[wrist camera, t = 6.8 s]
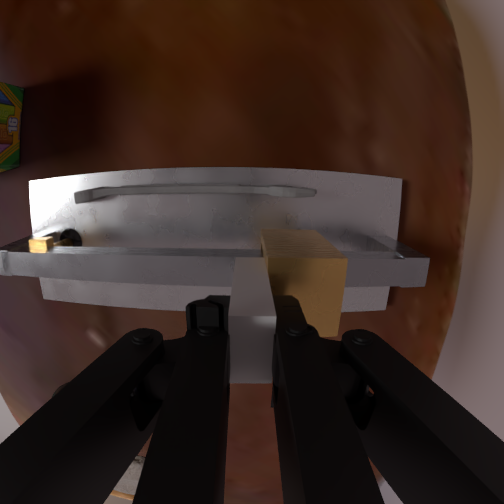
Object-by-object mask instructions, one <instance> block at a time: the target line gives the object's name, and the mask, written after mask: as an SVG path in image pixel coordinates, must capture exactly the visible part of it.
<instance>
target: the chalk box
mask: <svg viewBox="0 0 504 504" xmlns="http://www.w3.org/2000/svg"><path fill="white" fill-rule="evenodd" d="M23 94H24V88H21V87H18V86H14V85H10V84H7V83H3V82H0V172H3V171H6V170H10V169H13V168H16V167H18V166H19V149H20V148H19V146H20V144H19V143H20V125H21V112H22V102H23Z"/></svg>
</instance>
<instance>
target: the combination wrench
mask: <svg viewBox="0 0 504 504" xmlns="http://www.w3.org/2000/svg"><path fill="white" fill-rule="evenodd" d="M240 193H255V194H268V195H271V196H277V197H292V198H301V197H314V196H315V194H317V190H316V189H313V188H306V187H301V188H297V187H292V186H285V185H269V186H251V185H241V184H152V185H127V186H121V187H109V188H104V187H98V188H92V189H87V190H83V191H78V192H75V193H74V200H75V203H76V204H80V203H85V202H90V201H95V200H99V199H104V198H105V197H106V196H109V195H118V194H121V195H149V194H240Z"/></svg>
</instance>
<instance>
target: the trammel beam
mask: <svg viewBox="0 0 504 504" xmlns="http://www.w3.org/2000/svg"><path fill="white" fill-rule="evenodd" d="M152 184H241V185H251V186H269V185H285V186H292V187H297V188H301V187H306V188H313V189H316V190H317V194H315V196H314V197H301V198H292V197H277V196H271V195H268V194H255V193H240V194H149V195H121V194H118V195H109V196H106V197H105V198H104V199H99V200H95V201H90V202H85V203H80V204H76V203H75V200H74V193H75V192H78V191H83V190H87V189H92V188H98V187H104V188H109V187H121V186H127V185H152ZM29 191H30V209H31V221H32V231H33V235H30V236H28V237H25V238H23V239H20V240H17V241H15V242H12V243H10V244H7V245H5V246H3V247H0V275H8V276H13V275H20V276H31V277H39V278H40V283H41V288H42V293H43V298H44V299H49V300H57V301H66V302H75V303H84V304H94V305H105V306H116V307H128V308H142V309H157V310H175V311H186V308H185V307H186V305H187V304H188V303H190V302H192V301H195V300H199V299H205V298H206V297H207V296H209V295H231V289H232V281H233V273H234V266H235V258H236V257H260V258H263V249H260V244H261V229H298V230H316V231H317V232H318V233H319V234H321V235H322V236H323V237H324V238H325V239H326V240H328V241H329V242H330V243H331V244H332V245H333V246H334V247H335V248H337V249H338V250H339V251H340V252H341V253H342V254H343V255H344V256H346V257H347V258H348V263H347V271H346V280H345V287H344V295H343V302H342V308H341V312H353V311H375V310H385V309H386V304H387V299H388V294H389V289H390V286H400V287H424V286H425V283H426V278H427V273H428V267H429V262H430V258H429V257H427V256H425V255H424V254H422V253H420V252H418V251H416V250H414V249H412V248H410V247H408V246H406V245H404V244H403V243H401V242H399V241H397V235H398V226H399V216H400V205H401V191H402V179H399V178H391V177H383V176H374V175H365V174H354V173H344V172H331V171H318V170H302V169H282V168H249V167H194V168H162V169H142V170H126V171H113V172H101V173H91V174H81V175H72V176H64V177H56V178H49V179H41V180H35V181H29Z"/></svg>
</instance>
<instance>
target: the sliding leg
mask: <svg viewBox="0 0 504 504" xmlns="http://www.w3.org/2000/svg"><path fill="white" fill-rule="evenodd" d="M260 249H263V258H265V263H266V268H267V273H268V277H269V282H270V287H271V292H272V295H292V296H293V297H295V298H296V299H297V300H298V301H299V303H300V306H301V308H302V312H303V313H304V316H305V319H306V321H307V324H310V325H312V326H313V327H315V328H316V330H317V331H318V333H319V336H320V337H330V336H337V333H338V327H339V321H340V315H341V308H342V302H343V295H344V287H345V280H346V271H347V263H348V258H347V257H346V256H344V255H343V254H342V253H341V252H340V251H339V250H338V249H337V248H335V247H334V246H333V245H332V244H331V243H330V242H329V241H328V240H326V239H325V238H324V237H323V236H322V235H321V234H319V233H318V232H317V231H316V230H298V229H261V244H260Z"/></svg>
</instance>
